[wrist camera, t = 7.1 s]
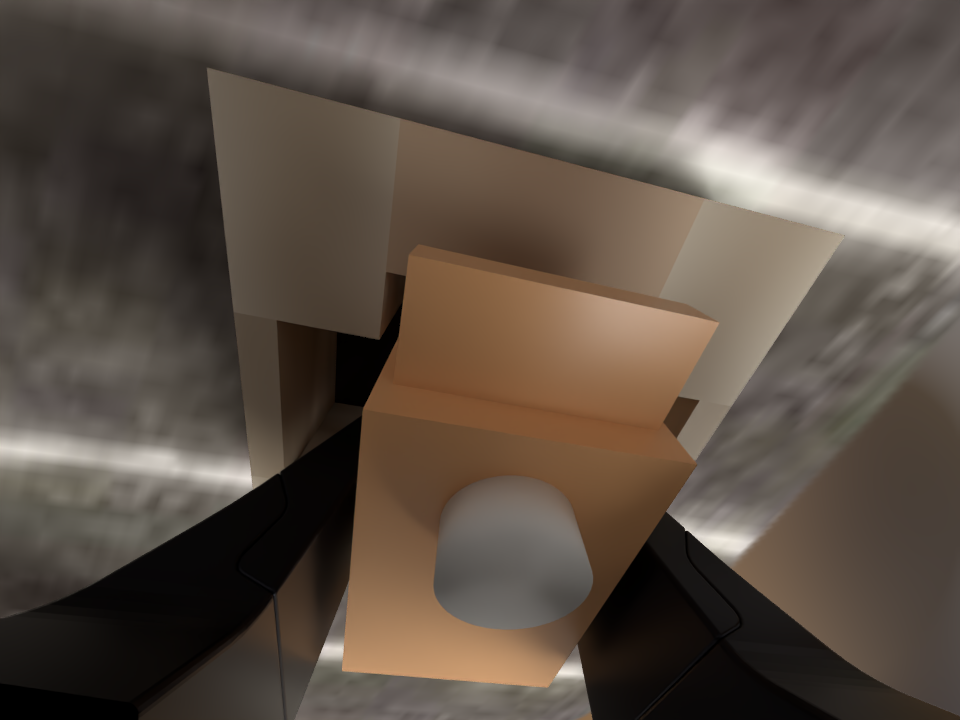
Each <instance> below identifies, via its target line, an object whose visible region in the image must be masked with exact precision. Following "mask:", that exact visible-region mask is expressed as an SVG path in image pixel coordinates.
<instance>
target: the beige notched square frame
mask: <svg viewBox="0 0 960 720" xmlns="http://www.w3.org/2000/svg"><path fill="white" fill-rule="evenodd" d="M207 75H208V84H209V93H210V102H211V111H212V120H213V129H214V139H215V148H216V157H217V166H218V175H219V184H220V193H221V202H222V211H223V221H224V230H225V239H226V248H227V257H228V266H229V275H230V284H231V293H232V303H233V312H234V321H235V330H236V339H237V348H238V357H239V366H240V375H241V385H242V394H243V403H244V412H245V421H246V430H247V439H248V448H249V457H250V467H251V476H252V485H253V489H255V488H256V487H258V486H259V485H261V484H262V483H264V482H265V481H267V480H268V479H270V478H271V477H273V476H274V475H275V474H280V471H281V470H283V469H284V468H286V467H287V466H289V465H290V464H292V463H293V462H295V461H296V460H297V459H299V458H300V457H302V456H303V455H305V454H306V453H308V452H309V451H310V450H312V449H313V448H315V447H316V446H318V445H319V444H321V443H322V442H324V441H325V440H326V439H328V438H329V437H331V436H332V435H334V434H335V433H337V432H338V431H339V430H341V429H342V428H344V427H345V426H347V425H348V424H350V423H351V422H353V421H354V420H355V419H357V418H358V417H360V416H361V415H362V413H363V408H364V407H359V406H353V405H347V404H341V403H335V380H336V351H337V332H341V333H347V334H352V335H357V336H363V337H368V338H373V339H378V340H379V339H380V338H381V336H382V334H383V333H384V331H385V330H386V328H387V326H388V325H389V323H390V321H391V320H392V318H393V316H394V315H395V313H396V312H397V310H398V308H399V307H400V305H401V303H402V302H403V298H404V290H405V282H406V274H407V265H408V257H409V254H410V253H411V252H412V251H413V250H414V248H415V247H416V246H417V245H418V244H420V245H424V246H429V247H433V248H438V249H442V250H447V251H451V252H456V253H460V254H464V255H469V256H473V257H478V258H482V259H487V260H491V261H496V262H500V263H505V264H509V265H514V266H518V267H523V268H527V269H532V270H536V271H541V272H545V273H550V274H554V275H559V276H563V277H568V278H572V279H577V280H581V281H586V282H590V283H595V284H599V285H604V286H608V287H613V288H617V289H622V290H626V291H631V292H635V293H640V294H644V295H649V296H653V297H657V298H662V299H666V300H671V301H675V302H680V303H684V304H687V305H689V306H691V307H693V308H695V309H696V310H698V311H700V312H702V313H704V314H705V315H707V316H709V317H711V318H713V319H714V320H716V321H718V322H720V323H719V325H718V327H717V328H716V330H715V332H714V334H713V335H712V337H711V339H710V341H709V342H708V344H707V346H706V348H705V349H704V351H703V353H702V355H701V356H700V358H699V360H698V362H697V364H696V365H695V367H694V369H693V371H692V372H691V374H690V376H689V378H688V379H687V381H686V383H685V385H684V386H683V388H682V390H681V392H680V393H679V395H678V397H677V399H676V400H675V402H674V404H673V406H672V407H671V409H670V411H669V413H668V414H667V416H666V418H665V420H664V422H663V423H664V424H665V425H666V426H667V428H668V429H669V430H670V431H671V433H672V434H673V435H674V436H675V437H676V439H677V440H678V441H679V442H680V444H681V445H682V446H683V447H684V449H685V450H686V451H687V452H688V454H689V455H690V456H691V457H692V459H693V460H694V461H695V460H696V459H697V457H698V456H699V454H700V453H701V451H702V450H703V448H704V447H705V445H706V444H707V442H708V441H709V439H710V438H711V436H712V435H713V433H714V432H715V430H716V429H717V427H718V426H719V424H720V423H721V421H722V420H723V418H724V417H725V415H726V414H727V412H728V411H729V409H730V408H731V406H732V405H733V403H734V402H735V400H736V399H737V397H738V396H739V394H740V393H741V391H742V390H743V388H744V387H745V385H746V384H747V382H748V381H749V379H750V378H751V376H752V375H753V373H754V372H755V370H756V369H757V367H758V366H759V364H760V363H761V361H762V360H763V358H764V357H765V355H766V354H767V352H768V351H769V349H770V348H771V346H772V345H773V343H774V342H775V340H776V339H777V337H778V336H779V334H780V333H781V331H782V329H783V328H784V326H785V325H786V323H787V322H788V320H789V319H790V317H791V316H792V314H793V313H794V311H795V310H796V308H797V307H798V305H799V304H800V302H801V301H802V299H803V298H804V296H805V295H806V293H807V292H808V290H809V289H810V287H811V286H812V284H813V283H814V281H815V280H816V278H817V277H818V275H819V274H820V272H821V271H822V269H823V268H824V266H825V265H826V263H827V262H828V260H829V259H830V257H831V256H832V254H833V253H834V251H835V250H836V248H837V247H838V245H839V244H840V242H841V241H842V239H843V238H844V236H845V235H841V234H838V233H834V232H830V231H826V230H822V229H819V228H815V227H811V226H807V225H803V224H800V223H796V222H792V221H788V220H784V219H781V218H777V217H773V216H769V215H765V214H762V213H758V212H754V211H750V210H746V209H743V208H739V207H735V206H731V205H727V204H724V203H720V202H716V201H712V200H709V199H705V198H701V197H697V196H693V195H690V194H686V193H682V192H678V191H674V190H671V189H667V188H663V187H659V186H655V185H652V184H648V183H644V182H640V181H636V180H633V179H629V178H625V177H621V176H617V175H614V174H610V173H606V172H602V171H598V170H595V169H591V168H587V167H583V166H579V165H576V164H572V163H568V162H564V161H560V160H557V159H553V158H549V157H545V156H541V155H538V154H534V153H530V152H526V151H522V150H519V149H515V148H511V147H507V146H504V145H500V144H496V143H492V142H488V141H485V140H481V139H477V138H473V137H469V136H466V135H462V134H458V133H454V132H450V131H447V130H443V129H439V128H435V127H431V126H428V125H424V124H420V123H416V122H412V121H409V120H405V119H401V118H397V117H393V116H390V115H386V114H382V113H378V112H374V111H371V110H367V109H363V108H359V107H355V106H352V105H348V104H344V103H340V102H336V101H333V100H329V99H325V98H321V97H317V96H314V95H310V94H306V93H302V92H299V91H295V90H291V89H287V88H283V87H280V86H276V85H272V84H268V83H264V82H261V81H257V80H253V79H249V78H245V77H242V76H238V75H234V74H230V73H226V72H223V71H219V70H215V69H211V68H207Z"/></svg>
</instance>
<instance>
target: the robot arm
mask: <svg viewBox="0 0 960 720" xmlns="http://www.w3.org/2000/svg"><path fill="white" fill-rule="evenodd" d="M361 425H362V415H361V416H360V417H358V418H357V419H355V420H354V421H353V422H351V423H350V424H348V425H347V426H345V427H344V428H342V429H341V430H339V431H338V432H337V433H335V434H334V435H332V436H331V437H329V438H328V439H326V440H325V441H324V442H322V443H321V444H319V445H318V446H316V447H315V448H313V449H312V450H310V451H309V452H308V453H306V454H305V455H303V456H302V457H300V458H299V459H297V460H296V461H295V462H293V463H292V464H290V465H289V466H287V467H286V468H284V469H283V470H281V471H280V474H275V475H274V476H273V477H271V478H270V479H268V480H267V481H265V482H264V483H262V484H261V485H259V486H258V487H256V488H255V489H253V490H252V491H250V492H249V493H247V494H246V495H244V496H243V497H241V498H240V499H238V500H236V501H235V502H233V503H232V504H230V505H228V506H227V507H225V508H223V509H222V510H220V511H218V512H217V513H215V514H213V515H212V516H210V517H208V518H207V519H205V520H203V521H202V522H200V523H198V524H196V525H195V526H193V527H191V528H189V529H188V530H186V531H184V532H182V533H181V534H179V535H177V536H175V537H174V538H172V539H170V540H168V541H167V542H165V543H163V544H161V545H160V546H158V547H156V548H154V549H153V550H151V551H149V552H147V553H146V554H144V555H142V556H141V557H139V558H137V559H135V560H134V561H132V562H130V563H128V564H127V565H125V566H123V567H121V568H120V569H118V570H116V571H114V572H113V573H111V574H109V575H107V576H106V577H104V578H102V579H100V580H98V581H96V582H94V583H93V584H91V585H89V586H87V587H85V588H83V589H81V590H78V591H76V592H74V593H72V594H70V595H68V596H66V597H63V598H61V599H58V600H56V601H53V602H51V603H48V604H46V605H43V606H40V607H37V608H34V609H31V610H28V611H25V612H22V613H18V614H15V615H11V616H7V617H4V618H0V720H294V719H295V717H296V714H297V712H298V709H299V707H300V704H301V701H302V699H303V696H304V694H305V691H306V689H307V686H308V684H309V681H310V678H311V676H312V673H313V671H314V668H315V666H316V663H317V661H318V658H319V655H320V653H321V650H322V648H323V645H324V643H325V640H326V638H327V635H328V632H329V630H330V627H331V625H332V622H333V620H334V617H335V615H336V612H337V610H338V607H339V604H340V602H341V599H342V597H343V594H344V592H345V589H346V587H347V584H348V581H349V577H350V564H351V552H352V539H353V526H354V514H355V501H356V488H357V476H358V463H359V451H360V438H361ZM578 648H579V653H580V658H581V663H582V668H583V673H584V678H585V683H586V688H587V694H588V699H589V704H590V709H591V714H592V718H593V720H960V716H959V715H956V714H954V713H951V712H949V711H946V710H944V709H941V708H939V707H937V706H934V705H931V704H929V703H927V702H924V701H922V700H919V699H917V698H914V697H912V696H909V695H907V694H905V693H902V692H900V691H898V690H896V689H894V688H892V687H890V686H888V685H885V684H884V683H882V682H880V681H877V680H876V679H874V678H873V677H871V676H869V675H867V674H866V673H864V672H862V671H861V670H859V669H858V668H856V667H855V666H853V665H852V664H850V663H849V662H847V661H846V660H844V659H843V658H842V657H841V656H839V655H838V654H837V653H835V652H834V651H833V650H831V649H830V648H829V647H828V646H826V645H825V644H824V643H823V642H821V641H820V640H819V639H817V638H816V637H815V636H814V635H813V634H811V633H810V632H809V631H808V630H806V629H805V628H804V627H802V626H801V625H800V624H799V623H798V622H796V621H795V620H794V619H793V618H791V617H790V616H789V615H788V614H786V613H785V612H784V611H783V610H781V609H780V608H779V607H778V606H776V605H775V604H774V603H772V602H771V601H770V600H769V599H768V598H767V597H765V596H764V595H763V594H762V593H760V592H759V591H757V589H755V588H754V587H753V586H752V585H750V584H749V583H748V582H747V581H746V580H744V579H743V578H742V577H741V576H739V575H738V574H737V573H736V572H735V571H733V570H732V569H731V568H730V567H728V566H727V565H726V564H725V563H724V562H723V561H721V560H720V559H719V558H718V557H717V556H716V555H715V554H713V553H712V552H711V551H710V550H709V549H708V548H706V547H705V546H704V545H703V544H702V543H701V542H700V541H699V540H697V539H696V538H695V537H694V536H693V535H692V534H691V533H690V532H688V531H685V528H684V527H683V526H682V525H680V524H679V523H678V522H677V521H676V520H675V519H674V518H673V517H671V516H670V515H669V514H668V513H667V512H665V514H664V515H663V517H662V518H661V520H660V521H659V523H658V524H657V526H656V527H655V529H654V530H653V532H652V533H651V534H650V536H649V537H648V539H647V540H646V542H645V543H644V545H643V546H642V548H641V549H640V551H639V552H638V554H637V555H636V557H635V558H634V560H633V561H632V563H631V564H630V566H629V567H628V569H627V570H626V572H625V573H624V575H623V576H622V578H621V579H620V581H619V582H618V584H617V585H616V587H615V588H614V590H613V591H612V593H611V594H610V596H609V597H608V599H607V600H606V602H605V603H604V605H603V606H602V608H601V609H600V611H599V612H598V613H597V615H596V616H595V618H594V619H593V621H592V622H591V624H590V625H589V627H588V628H587V630H586V631H585V633H584V634H583V636H582V637H581V639H580V640H579V642H578Z"/></svg>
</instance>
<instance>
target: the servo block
mask: <svg viewBox="0 0 960 720" xmlns="http://www.w3.org/2000/svg"><path fill="white" fill-rule="evenodd" d="M719 323H720V322H718V321H716V320H714V319H713V318H711V317H709V316H707V315H705V314H704V313H702V312H700V311H698V310H696V309H695V308H693V307H691V306H689V305H687V304H684V303H680V302H675V301H671V300H666V299H662V298H657V297H653V296H649V295H644V294H640V293H635V292H631V291H626V290H622V289H617V288H613V287H608V286H604V285H599V284H595V283H590V282H586V281H581V280H577V279H572V278H568V277H563V276H559V275H554V274H550V273H545V272H541V271H536V270H532V269H527V268H523V267H518V266H514V265H509V264H505V263H500V262H496V261H491V260H487V259H482V258H478V257H473V256H469V255H464V254H460V253H456V252H451V251H447V250H442V249H438V248H433V247H429V246H424V245H420V244H418V245H417V246H416V247H415V248H414V250H413V251H412V252H411V253H410V254H409V257H408V265H407V274H406V282H405V290H404V298H403V306H402V314H401V323H400V331H399V337H398V339H397V341H396V343H395V345H394V347H393V349H392V351H391V353H390V355H389V357H388V359H387V361H386V363H385V366H384V368H383V370H382V372H381V374H380V376H379V378H378V380H377V382H376V384H375V386H374V388H373V390H372V392H371V394H370V396H369V398H368V400H367V402H366V404H365V406H364V408H363V413H362V425H361V438H360V451H359V463H358V476H357V488H356V501H355V514H354V526H353V539H352V552H351V564H350V577H349V589H348V602H347V615H346V627H345V640H344V653H343V665H342V671H349V672H361V673H374V674H386V675H399V676H411V677H424V678H436V679H449V680H461V681H474V682H486V683H499V684H511V685H523V686H536V687H549V685H550V684H551V682H552V681H553V679H554V678H555V676H556V675H557V673H558V672H559V670H560V669H561V667H562V666H563V664H564V663H565V661H566V660H567V658H568V657H569V655H570V654H571V652H572V651H573V649H574V648H575V646H576V645H577V643H578V642H579V640H580V639H581V637H582V636H583V634H584V633H585V631H586V630H587V628H588V627H589V625H590V624H591V622H592V621H593V619H594V618H595V616H596V615H597V613H598V612H599V611H600V609H601V608H602V606H603V605H604V603H605V602H606V600H607V599H608V597H609V596H610V594H611V593H612V591H613V590H614V588H615V587H616V585H617V584H618V582H619V581H620V579H621V578H622V576H623V575H624V573H625V572H626V570H627V569H628V567H629V566H630V564H631V563H632V561H633V560H634V558H635V557H636V555H637V554H638V552H639V551H640V549H641V548H642V546H643V545H644V543H645V542H646V540H647V539H648V537H649V536H650V534H651V533H652V532H653V530H654V529H655V527H656V526H657V524H658V523H659V521H660V520H661V518H662V517H663V515H664V514H665V512H666V511H667V509H668V508H669V506H670V505H671V503H672V502H673V500H674V499H675V497H676V496H677V494H678V493H679V491H680V490H681V488H682V487H683V485H684V484H685V482H686V481H687V479H688V478H689V476H690V475H691V473H692V472H693V470H694V469H695V467H696V466H697V464H696V462H695V461H694V460H693V459H692V457H691V456H690V455H689V454H688V452H687V451H686V450H685V449H684V447H683V446H682V445H681V444H680V442H679V441H678V440H677V439H676V437H675V436H674V435H673V434H672V433H671V431H670V430H669V429H668V428H667V426H666V425H665V424H664V423H663V422H664V420H665V418H666V416H667V414H668V413H669V411H670V409H671V407H672V406H673V404H674V402H675V400H676V399H677V397H678V395H679V393H680V392H681V390H682V388H683V386H684V385H685V383H686V381H687V379H688V378H689V376H690V374H691V372H692V371H693V369H694V367H695V365H696V364H697V362H698V360H699V358H700V356H701V355H702V353H703V351H704V349H705V348H706V346H707V344H708V342H709V341H710V339H711V337H712V335H713V334H714V332H715V330H716V328H717V327H718V325H719Z"/></svg>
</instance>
